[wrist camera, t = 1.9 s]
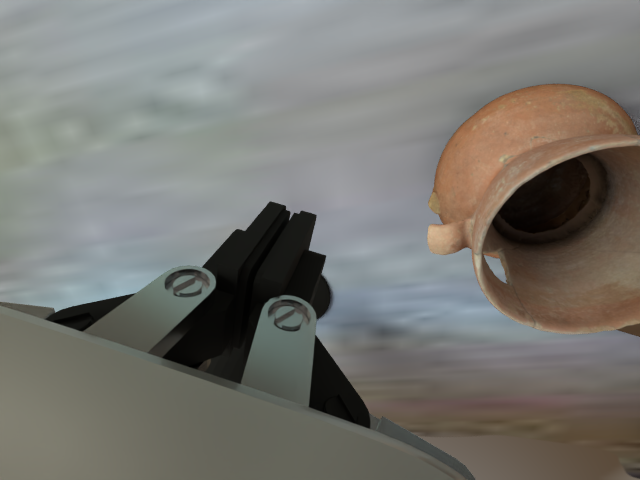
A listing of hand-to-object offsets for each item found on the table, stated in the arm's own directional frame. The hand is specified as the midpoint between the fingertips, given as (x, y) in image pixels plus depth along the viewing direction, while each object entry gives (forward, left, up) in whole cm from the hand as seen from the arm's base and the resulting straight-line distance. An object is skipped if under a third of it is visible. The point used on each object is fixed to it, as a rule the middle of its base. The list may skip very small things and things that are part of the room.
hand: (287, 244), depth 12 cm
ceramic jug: (0, +16, -22) cm, 27 cm away
